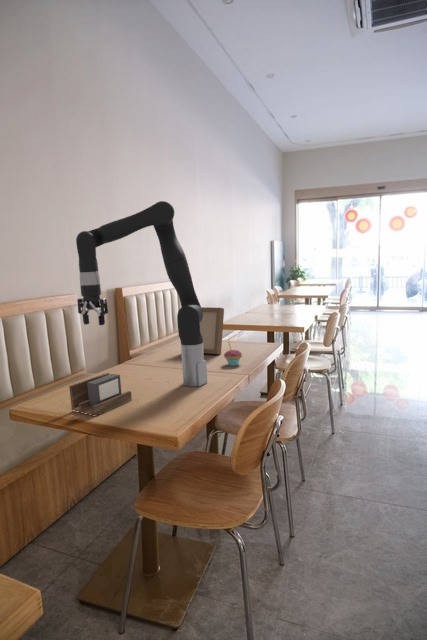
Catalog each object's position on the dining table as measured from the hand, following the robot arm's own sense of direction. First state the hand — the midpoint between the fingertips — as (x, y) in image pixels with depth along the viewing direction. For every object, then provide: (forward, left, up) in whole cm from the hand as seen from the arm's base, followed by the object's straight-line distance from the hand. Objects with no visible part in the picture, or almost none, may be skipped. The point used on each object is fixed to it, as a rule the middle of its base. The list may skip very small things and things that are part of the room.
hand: (94, 324), depth 167 cm
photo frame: (-1, -77, -28) cm, 82 cm away
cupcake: (-29, -58, -28) cm, 71 cm away
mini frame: (-15, +11, -26) cm, 32 cm away
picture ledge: (-13, +11, -28) cm, 33 cm away
